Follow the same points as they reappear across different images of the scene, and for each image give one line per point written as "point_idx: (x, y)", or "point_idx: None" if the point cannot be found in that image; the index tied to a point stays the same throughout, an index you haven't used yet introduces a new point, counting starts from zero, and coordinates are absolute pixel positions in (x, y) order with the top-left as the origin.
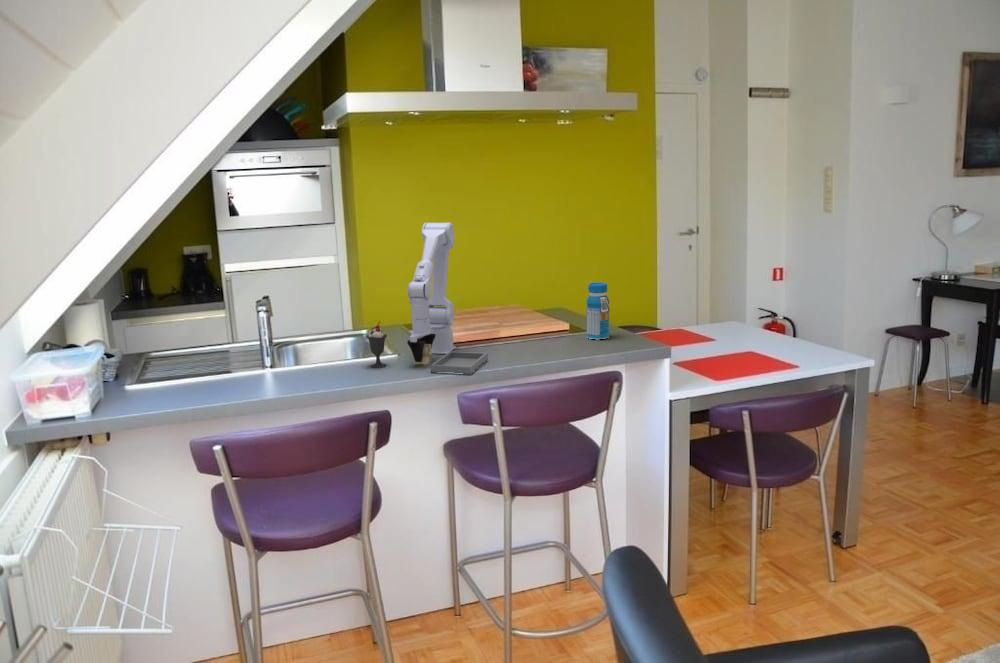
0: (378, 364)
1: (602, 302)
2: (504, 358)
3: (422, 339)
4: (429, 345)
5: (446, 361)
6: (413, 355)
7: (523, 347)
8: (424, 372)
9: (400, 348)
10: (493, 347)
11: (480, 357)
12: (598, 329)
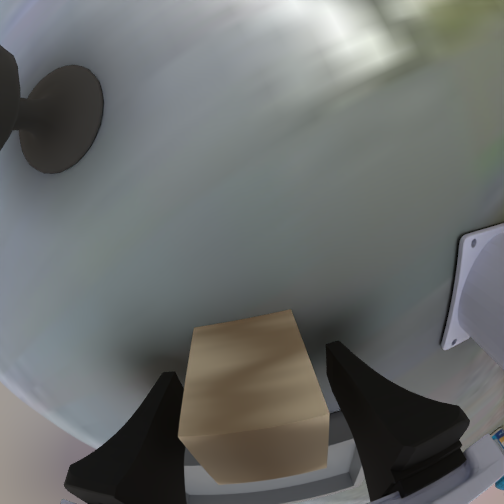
0: (32, 138)
1: (496, 487)
2: None
3: (380, 442)
4: (291, 473)
5: None
6: (143, 402)
7: (470, 425)
8: (114, 418)
9: (485, 46)
10: (489, 386)
11: (302, 500)
12: None
